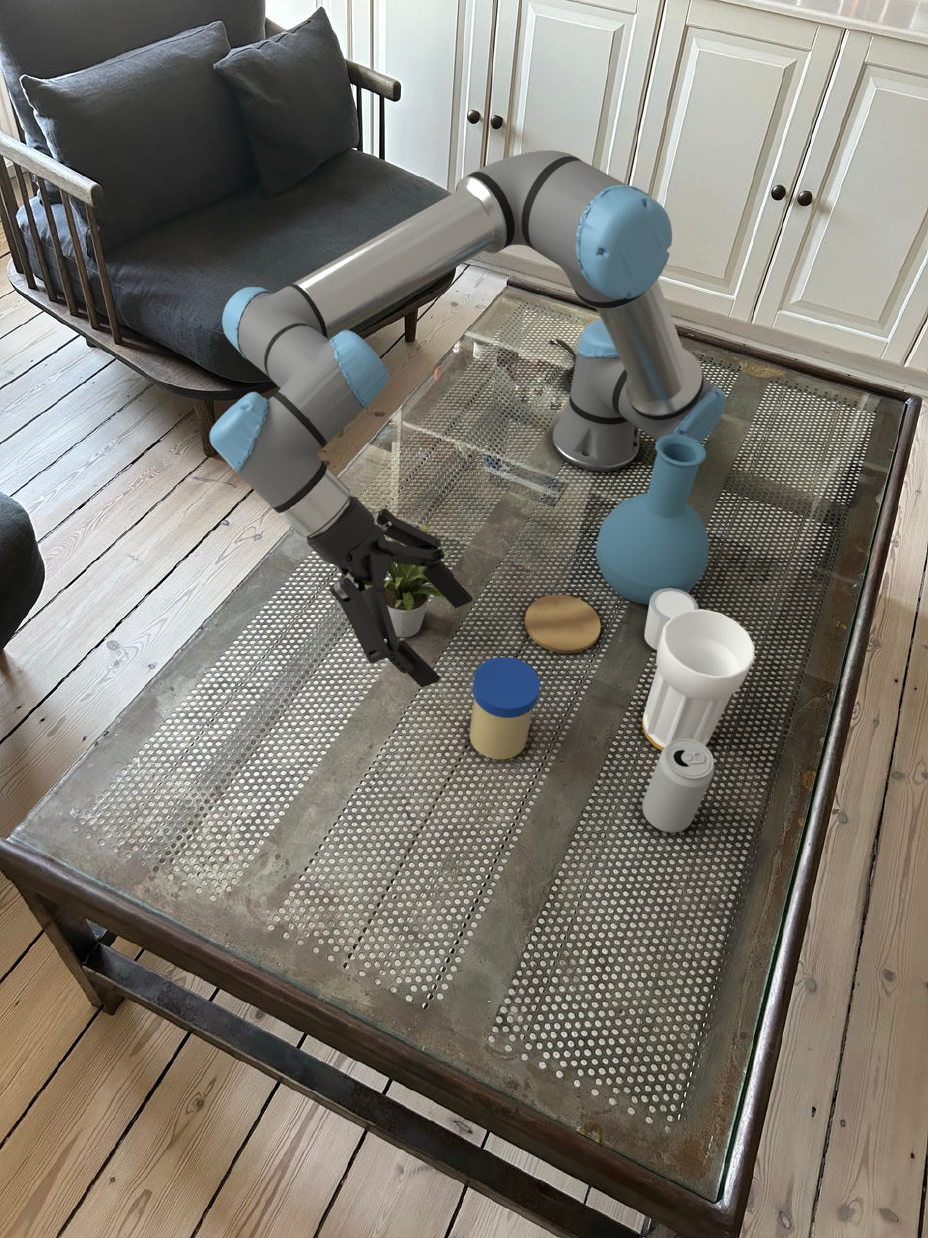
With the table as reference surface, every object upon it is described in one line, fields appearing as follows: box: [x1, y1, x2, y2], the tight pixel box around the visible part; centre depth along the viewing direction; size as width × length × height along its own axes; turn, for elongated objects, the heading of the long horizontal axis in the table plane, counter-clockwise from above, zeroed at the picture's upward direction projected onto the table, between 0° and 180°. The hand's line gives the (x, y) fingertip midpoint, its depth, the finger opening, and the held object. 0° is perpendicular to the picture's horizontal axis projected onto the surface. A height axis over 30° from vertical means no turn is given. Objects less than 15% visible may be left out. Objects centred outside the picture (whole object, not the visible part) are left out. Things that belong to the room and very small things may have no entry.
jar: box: [468, 698, 535, 760], centre depth 125 cm, size 8×8×11 cm
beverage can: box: [641, 738, 715, 833], centre depth 118 cm, size 6×6×12 cm
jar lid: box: [472, 656, 541, 718], centre depth 121 cm, size 8×8×2 cm
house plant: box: [365, 520, 454, 638], centre depth 134 cm, size 14×14×16 cm
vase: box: [595, 434, 710, 606], centre depth 142 cm, size 16×17×25 cm
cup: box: [641, 608, 756, 752], centre depth 125 cm, size 11×11×17 cm
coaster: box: [524, 594, 602, 654], centre depth 143 cm, size 11×11×1 cm
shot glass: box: [644, 588, 699, 651], centre depth 140 cm, size 7×7×7 cm
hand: (448, 641), depth 118 cm, fingers open, 13 cm apart
